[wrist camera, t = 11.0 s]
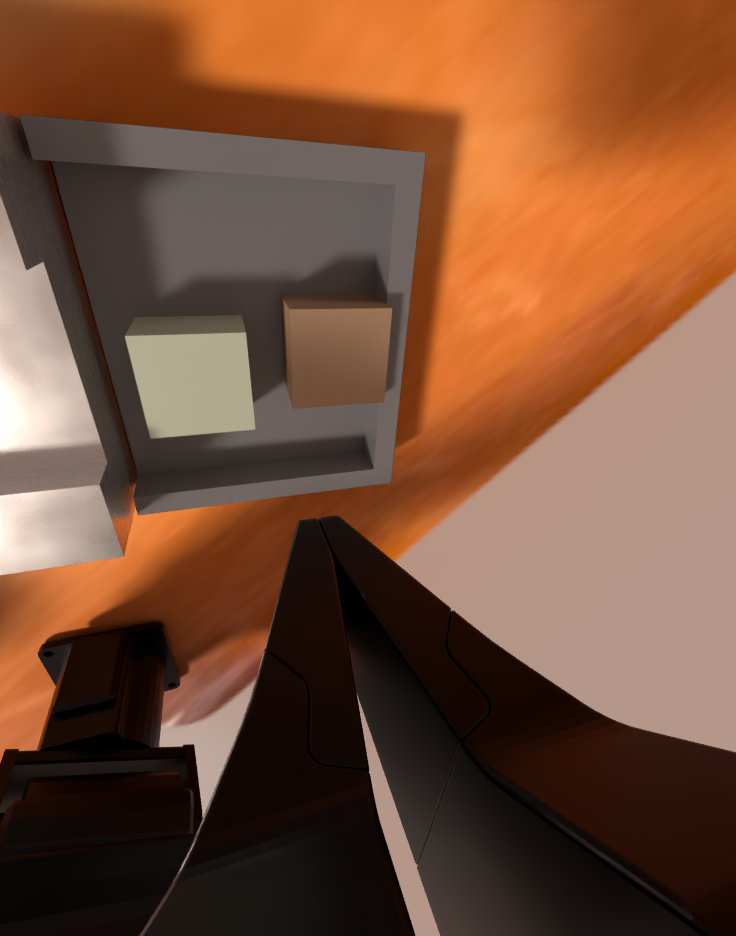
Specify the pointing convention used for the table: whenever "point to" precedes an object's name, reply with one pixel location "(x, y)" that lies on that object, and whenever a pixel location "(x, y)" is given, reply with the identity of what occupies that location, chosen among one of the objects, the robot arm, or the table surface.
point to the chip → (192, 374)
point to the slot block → (52, 386)
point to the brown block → (335, 348)
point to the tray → (238, 285)
